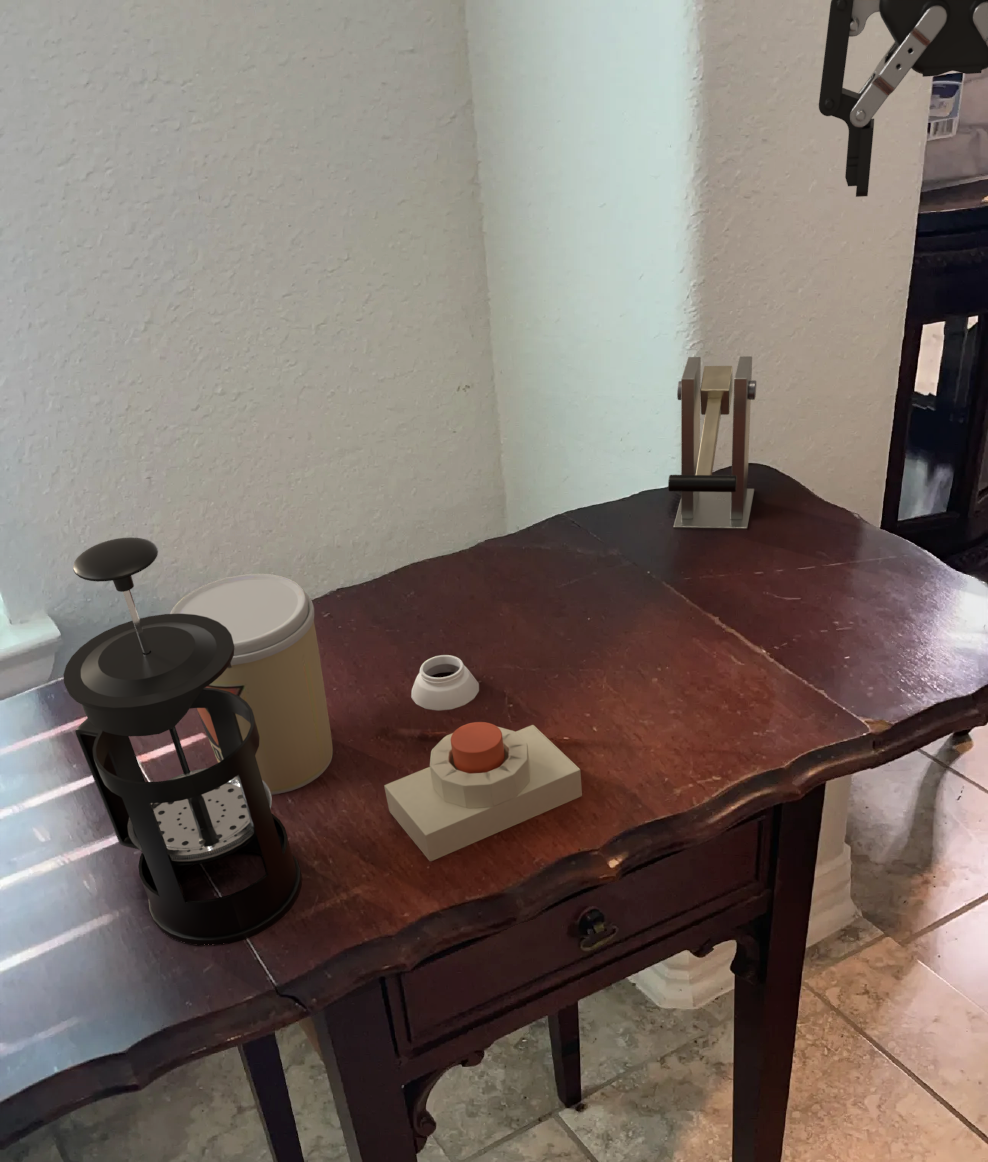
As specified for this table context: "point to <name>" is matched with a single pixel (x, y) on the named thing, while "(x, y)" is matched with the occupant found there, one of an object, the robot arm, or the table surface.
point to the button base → (482, 793)
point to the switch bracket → (732, 506)
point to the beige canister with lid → (271, 673)
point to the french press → (195, 798)
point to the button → (477, 747)
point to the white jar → (444, 684)
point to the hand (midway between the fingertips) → (936, 190)
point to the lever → (710, 434)
